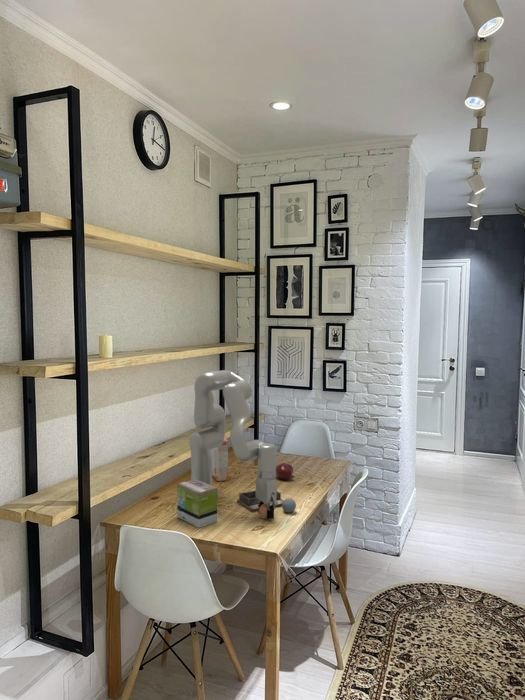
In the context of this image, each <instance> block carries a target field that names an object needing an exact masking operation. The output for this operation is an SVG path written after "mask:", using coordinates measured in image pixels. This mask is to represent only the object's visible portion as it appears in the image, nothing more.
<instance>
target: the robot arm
mask: <svg viewBox="0 0 525 700" xmlns="http://www.w3.org/2000/svg"><path fill="white" fill-rule="evenodd" d="M220 390H222V395H223V399H224V401H225V404H226V407H227V411H228V412H229V415H230V418H231V426H230V434H229V435H230V436H229V438H230V439H229V440H230V444H231V447H232V449H233V452H234V454H235V457H236V458H237V459H238V460H239V461H241V462H249V461H252V460H255V459H257V477H256V480H255V491H256V492H255V496H256V498H257V499H258V504H259V508H260V506H261V505H262V504H264V503H265V504H267V507H268V510H267V518H266V520H267V521H269V520H274V518H275V510H276V508H275V507H276V506H277V501H276V498H277V492H278V491H277V480H276V478H277V475H276V466H277V446H276V445H275V444H274V443H271V442H270V443H269V442H268V443H267V442H265V441H262V440H260V439H253V440H250V441H246V439H245V434H244V429H245V426H246V424H247V422H248V421H249V420H250V418H251V417H252V416H251V415H252V413H251V411H250V407H249V405H248V401H247V400H249V399H250V398H251V397H252V395H253V388H252V385H250V383H249V382H248V381H246V380H245V379H244V378H242V377H241V376H239V375H238V374H236V373H234V372H232V371H231V370H227V369H222V370H212V371H207V372H206V371H205V372H203V373H201V374H199V375H198V376H197V377H196V379H195V382H194V407H193V408H194V410H193V423H194V426H195V427H197V428H200V430H197V431H194V432H193V433H192V434H191V435H190V436H189V440H188V442H189V443H188V444H189V449H190V457H191V458H190V460H191V461H190V462H191V463H190V466H191V469H190V470H191V471H190V472H191V475H190V480H193V479H197V480H200V481H202V482H205V483H207V484H210V485H212V486H213V477H212V457H211V455H210V449H213V448H217V447H219V446H221V445H222V443H223V441H224V438H225V435H226V433H225V431H226V420H227V419H226V412H225V410H224V408H223V407H222V406H221V405H219V404H214V403H215V402H214V401H215V397H214V394H213V392H212V391H220ZM204 428H205V429H204ZM270 501H272V502H270ZM271 503H272V505H271V506H270V504H271ZM257 513H258V514H259V509H258V512H257Z"/></svg>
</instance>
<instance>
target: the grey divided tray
mask: <svg viewBox="0 0 525 700" xmlns="http://www.w3.org/2000/svg"><path fill="white" fill-rule="evenodd" d="M255 492H256V490H252V491H246V492H240V493H239V495H238V499H236V503H237V504H238V505H241V507H244V508H245V509H246V510H248V511H249V512H251V513H252V514H253V513H258V509H259V504H258V499H257V498H256V496H255ZM281 494H282V493H281V492H279V491H277V498H276V501H277V506H276V507H277V508H282V507H281V506H282V502H283V501H284V500H285V499H282V498H281ZM270 502H272V501H270ZM264 504H265V503H264ZM270 505H272V503H271V504H270ZM276 507H275V509H277V508H276Z"/></svg>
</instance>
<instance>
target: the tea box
mask: <svg viewBox="0 0 525 700" xmlns="http://www.w3.org/2000/svg"><path fill="white" fill-rule="evenodd" d="M176 489H177V490H176V491H177V495H176V496H177V498H176V499H177V501H176V502H177V503H176V506H177V509H176V510H177V511H176V512H177V513H176V514H177V515H176V516H177V518H179V519H181V520H183V521H184V522H187V523H188V524H191V525H192V526H194V527H196V528H197V529H200V528H202V526H203V527H205V526H204V525H206V526H208V524H209V525H212V524H214V522H215V523H217V522H218V487H217V486H214V485H213V484H212V485H210V484H207V483H205V482H202V481H200V480H197V479H193V480H191V479H190V480H187V481H183V482H180V483H177V487H176ZM211 523H212V524H211ZM199 527H200V528H199Z"/></svg>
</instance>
